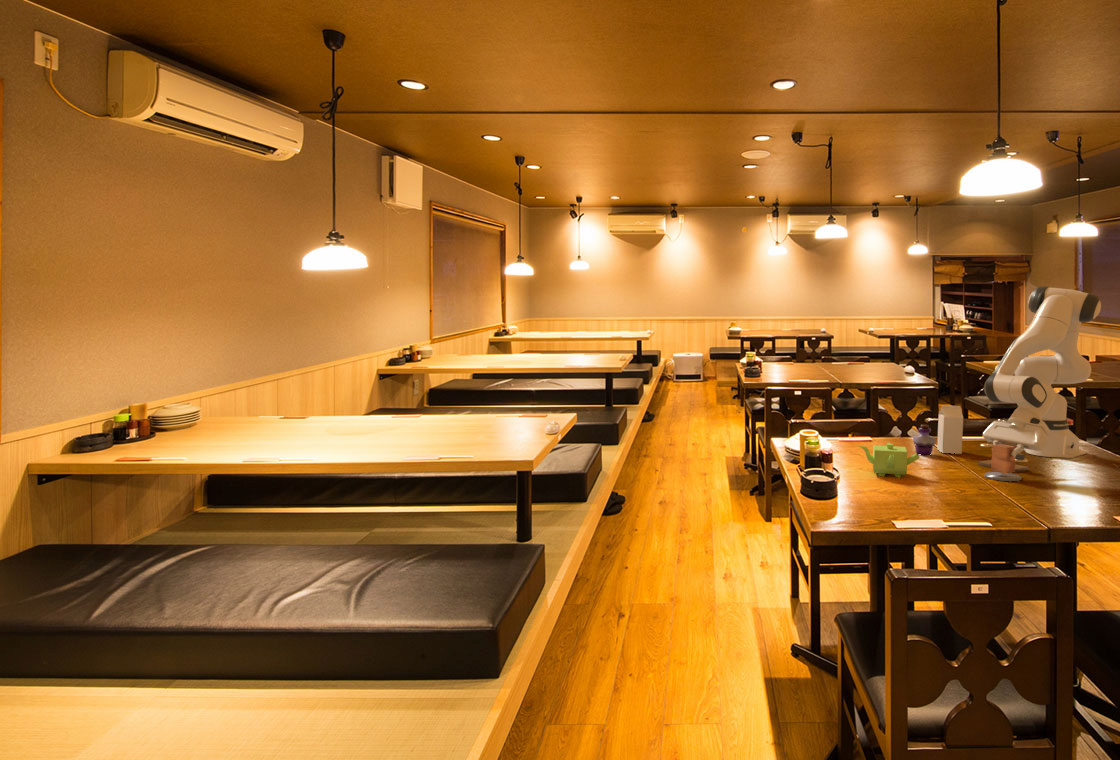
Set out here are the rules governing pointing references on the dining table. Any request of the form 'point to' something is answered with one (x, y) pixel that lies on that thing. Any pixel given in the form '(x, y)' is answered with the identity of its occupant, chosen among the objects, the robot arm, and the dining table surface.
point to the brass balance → (1018, 458)
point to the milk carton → (950, 430)
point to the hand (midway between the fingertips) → (1002, 453)
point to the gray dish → (1002, 476)
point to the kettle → (889, 459)
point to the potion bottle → (924, 441)
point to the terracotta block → (1002, 458)
